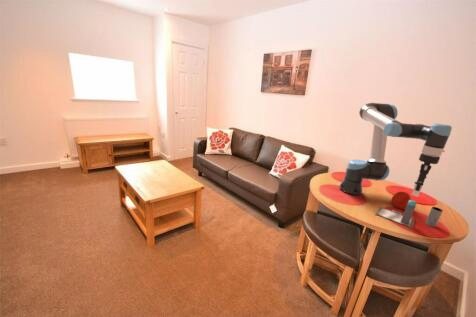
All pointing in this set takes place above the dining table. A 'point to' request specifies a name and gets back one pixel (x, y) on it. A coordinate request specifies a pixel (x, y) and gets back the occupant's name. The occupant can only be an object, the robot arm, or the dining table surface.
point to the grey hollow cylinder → (434, 216)
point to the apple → (400, 200)
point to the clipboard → (393, 216)
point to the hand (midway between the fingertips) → (416, 191)
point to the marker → (408, 212)
